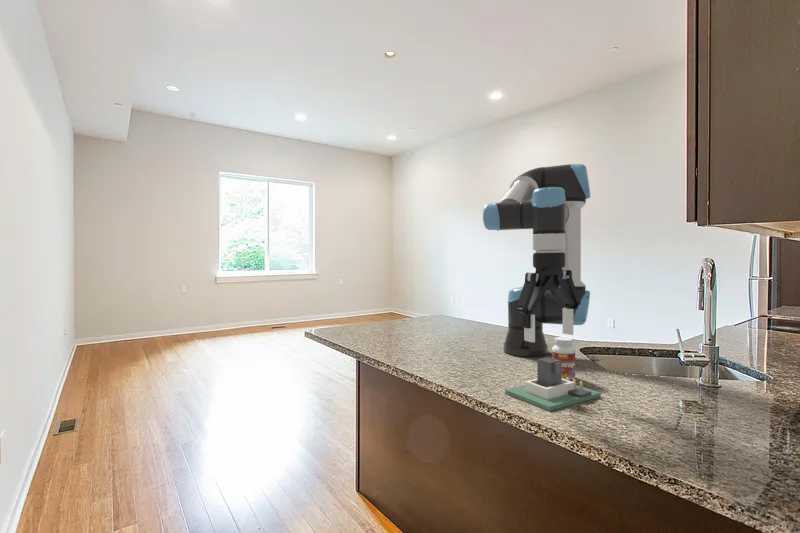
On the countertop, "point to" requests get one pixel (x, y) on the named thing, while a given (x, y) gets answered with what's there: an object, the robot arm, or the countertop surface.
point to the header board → (552, 394)
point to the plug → (549, 372)
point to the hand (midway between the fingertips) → (549, 337)
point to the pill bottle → (565, 356)
